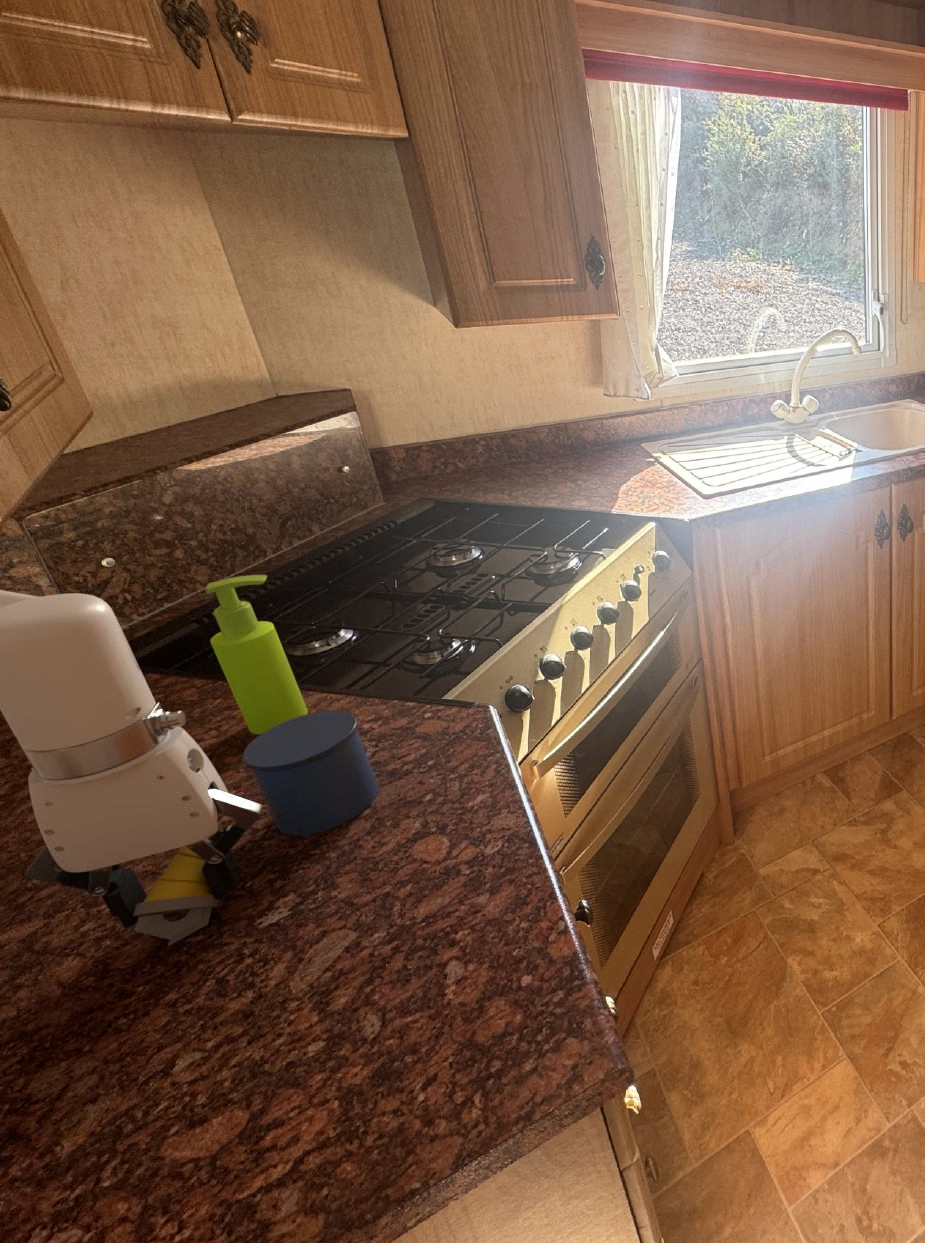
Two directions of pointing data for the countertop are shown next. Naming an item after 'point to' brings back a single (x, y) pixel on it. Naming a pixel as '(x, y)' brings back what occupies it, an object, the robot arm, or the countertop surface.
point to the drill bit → (177, 899)
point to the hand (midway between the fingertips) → (182, 899)
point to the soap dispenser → (253, 659)
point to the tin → (312, 772)
